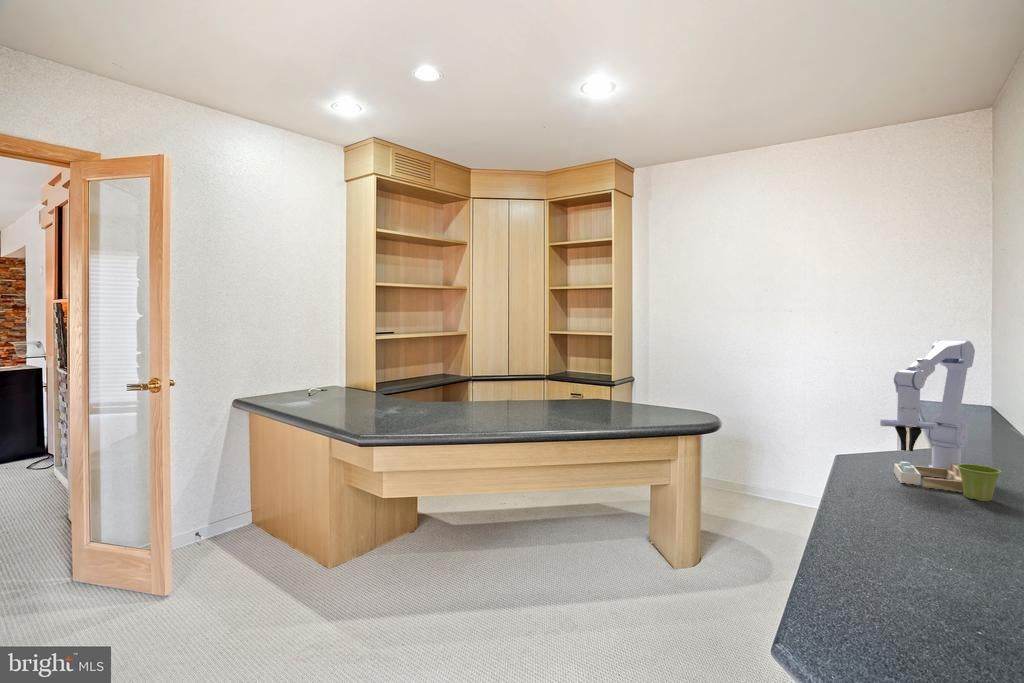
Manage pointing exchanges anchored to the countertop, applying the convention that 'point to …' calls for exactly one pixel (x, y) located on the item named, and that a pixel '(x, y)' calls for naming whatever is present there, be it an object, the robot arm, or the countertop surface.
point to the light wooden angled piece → (951, 474)
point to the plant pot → (978, 481)
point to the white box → (907, 473)
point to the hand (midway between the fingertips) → (907, 450)
